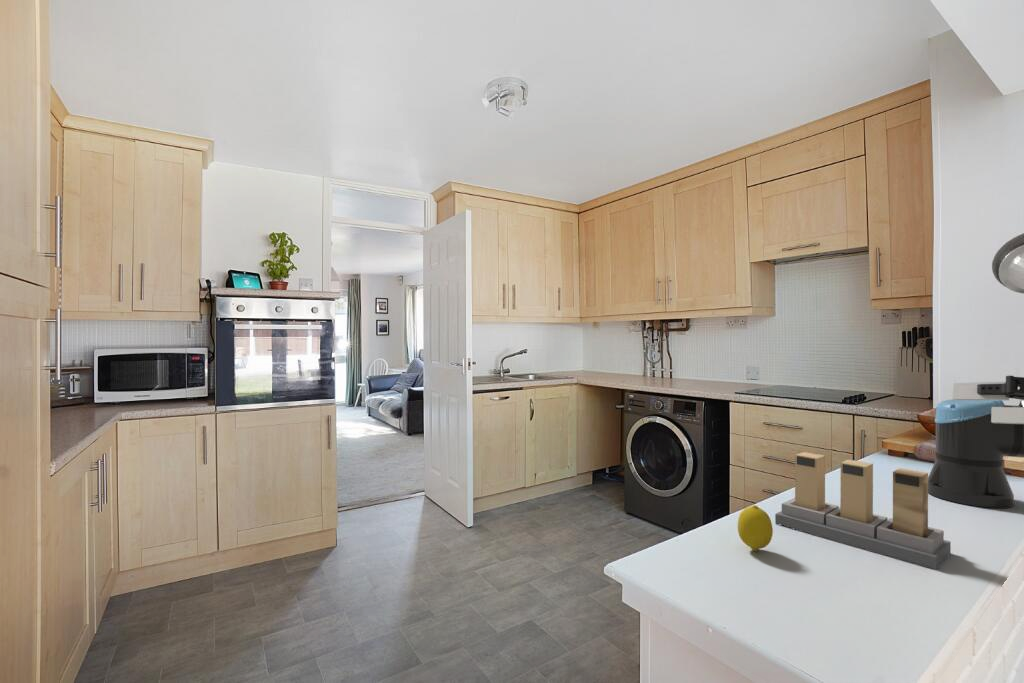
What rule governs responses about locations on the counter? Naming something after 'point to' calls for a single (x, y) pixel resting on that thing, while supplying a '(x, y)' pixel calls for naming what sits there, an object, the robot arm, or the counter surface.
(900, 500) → the oak finger
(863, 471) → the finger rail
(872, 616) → the counter surface
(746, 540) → the lemon
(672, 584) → the counter surface
